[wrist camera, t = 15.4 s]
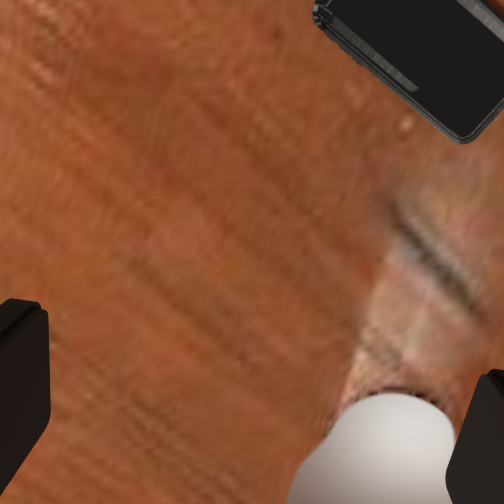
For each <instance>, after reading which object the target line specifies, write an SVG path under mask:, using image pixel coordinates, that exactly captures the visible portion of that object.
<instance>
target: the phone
mask: <svg viewBox="0 0 504 504" xmlns="http://www.w3.org/2000/svg"><path fill="white" fill-rule="evenodd" d="M312 18H313V21H314V23H315V24H316V26H317V27H318V28H319V29H321V30H322V31H323V32H324V33H325V34H326V35H327V37H328V38H330V39H331V40H332V41H335V42H336V43H337V44H338V45H339V47H340V48H341V49H342V50H343V51H344V52H346V53H347V54H348V55H351V56H352V57H353V58H352V59H353V60H354V61H356V62H357V63H358V64H359V65H360V66H362V65H363V66H364V67H365V68H366V69H367V70H369V71H370V72H371V73H372V74H373V75H374V76H376V77H377V78H378V79H379V80H380V81H381V82H383V83H384V84H385V85H386V86H387V87H388V88H390V89H391V90H392V91H393V92H394V93H395V94H397V95H398V96H399V97H400V98H401V99H402V100H404V101H405V102H406V103H407V104H408V105H410V106H411V107H412V108H413V109H414V110H415V111H417V112H418V113H419V114H420V115H421V116H422V117H424V118H425V119H426V120H427V121H428V122H429V123H431V124H432V125H433V126H434V127H435V128H436V129H438V130H439V131H440V132H441V133H442V134H443V135H445V136H446V137H447V138H448V139H449V140H451V141H453V142H455V143H457V144H468V143H470V142H472V141H473V140H475V139H476V138H477V137H478V136H479V135H480V134H481V133H482V131H483V130H484V129H485V128H486V127H487V126H488V125H489V124H490V123H491V122H492V121H493V120H494V119H495V117H496V116H497V115H498V114H499V113H500V112H501V111H502V110H503V109H504V17H503V16H502V15H501V14H500V13H499V12H498V11H496V10H495V9H494V8H493V7H492V6H491V5H490V4H489V3H488V2H487V1H486V0H316V1H315V3H314V5H313V9H312Z"/></svg>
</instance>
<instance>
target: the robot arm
mask: <svg viewBox="0 0 504 504" xmlns="http://www.w3.org/2000/svg"><path fill="white" fill-rule="evenodd" d="M50 414H51V401H50V363H49V324H48V313H47V311H46V310H42V309H41V306H40V304H39V303H38V302H34V301H27V300H20V299H13V298H10V299H8V300H6V301H5V302H4V303H3V304H1V305H0V496H1V494H2V493H3V491H4V490H5V488H6V487H7V485H8V484H9V482H10V481H11V479H12V478H13V476H14V475H15V473H16V472H17V470H18V469H19V467H20V466H21V464H22V463H23V462H24V460H25V459H26V457H27V456H28V454H29V453H30V451H31V450H32V448H33V447H34V445H35V444H36V442H37V441H38V439H39V438H40V436H41V435H42V433H43V432H44V430H45V429H46V427H47V425H48V422H49V419H50ZM445 478H446V487H447V490H448V493H449V495H450V498H451V500H452V503H453V504H504V370H500V369H492V370H490V371H489V372H488V374H483V375H481V377H480V378H479V380H478V383H477V386H476V388H475V391H474V394H473V397H472V400H471V402H470V405H469V408H468V411H467V414H466V416H465V419H464V422H463V425H462V428H461V431H460V433H459V436H458V439H457V442H456V445H455V447H454V450H453V453H452V456H451V459H450V461H449V464H448V467H447V470H446V477H445Z"/></svg>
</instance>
